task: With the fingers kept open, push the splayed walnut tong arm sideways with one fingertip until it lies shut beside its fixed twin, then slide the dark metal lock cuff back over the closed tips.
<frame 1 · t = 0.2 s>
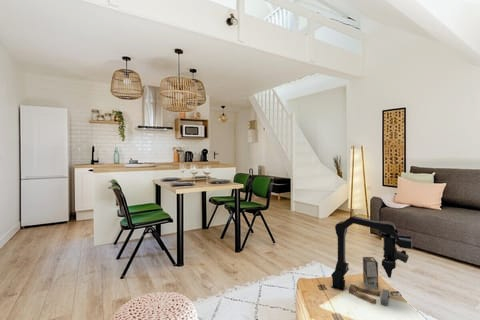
hand: (390, 274, 139), 14 cm above the table, fingers open, 9 cm apart
lock cuff: (385, 297, 139), point 2 cm above the table, slide at 0.0 cm
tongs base: (352, 291, 150), on the table
tong arm: (362, 294, 142), point 2 cm above the table, hinge at 22.0°
coffee box: (370, 286, 156), on the table
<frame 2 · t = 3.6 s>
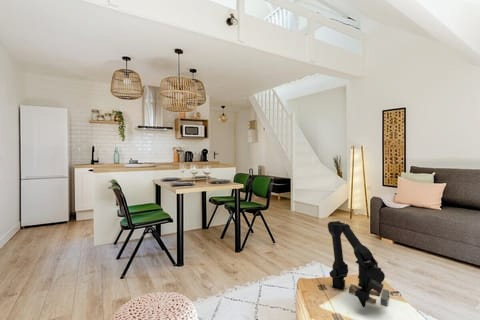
hand: (365, 303, 135), 1 cm above the table, fingers open, 8 cm apart
tong arm: (362, 294, 142), point 2 cm above the table, hinge at 21.6°, touching gripper
everything else where it was.
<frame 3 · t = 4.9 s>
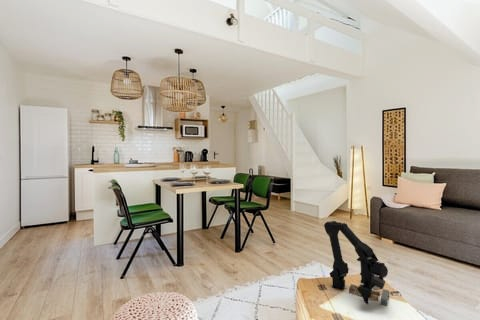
hand: (368, 300, 137), 1 cm above the table, fingers open, 8 cm apart
tong arm: (363, 292, 144), point 2 cm above the table, hinge at 3.1°, touching gripper
everything else where it was.
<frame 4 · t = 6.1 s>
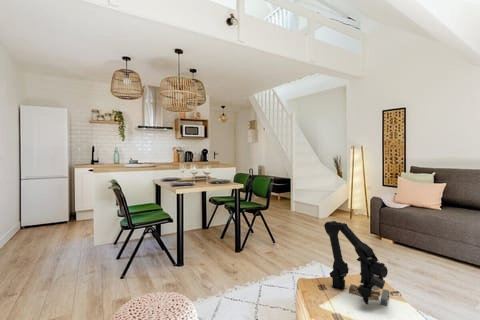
hand: (368, 300, 138), 1 cm above the table, fingers open, 8 cm apart
tong arm: (363, 292, 144), point 2 cm above the table, hinge at -1.1°, touching gripper
everything else where it was.
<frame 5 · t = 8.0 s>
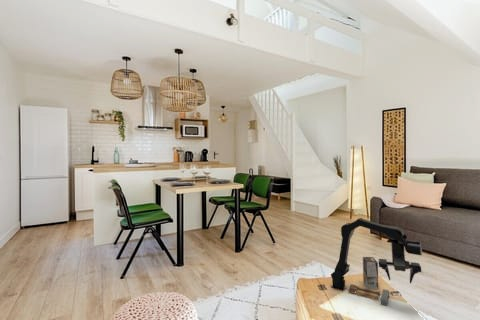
hand: (399, 281, 134), 13 cm above the table, fingers open, 9 cm apart
tong arm: (363, 292, 144), point 2 cm above the table, hinge at -1.2°
everything else where it was.
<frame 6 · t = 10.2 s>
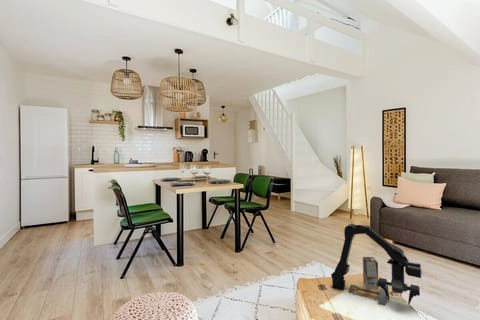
hand: (398, 302, 136), 1 cm above the table, fingers open, 9 cm apart
lock cuff: (382, 296, 140), point 2 cm above the table, slide at 1.1 cm, touching gripper
everything else where it was.
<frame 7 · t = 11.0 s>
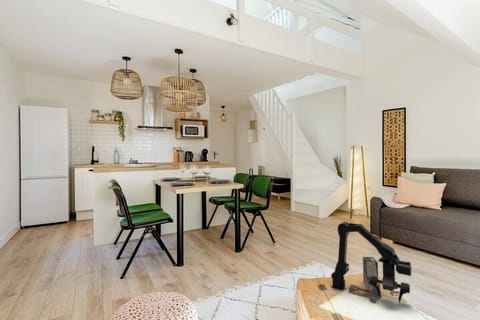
hand: (389, 299, 138), 1 cm above the table, fingers open, 8 cm apart
lock cuff: (374, 294, 142), point 2 cm above the table, slide at 5.1 cm
tong arm: (363, 292, 144), point 2 cm above the table, hinge at -1.1°, touching gripper
everything else where it was.
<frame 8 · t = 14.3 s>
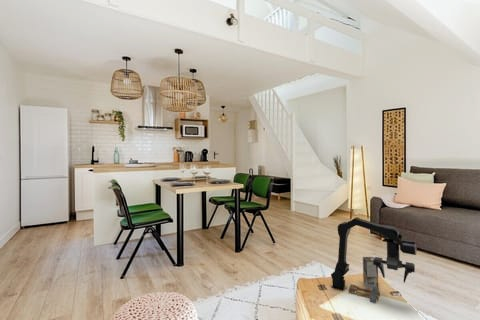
hand: (393, 280, 136), 12 cm above the table, fingers open, 9 cm apart
tong arm: (363, 292, 144), point 2 cm above the table, hinge at -1.1°
everything else where it was.
at the end: tong arm at -1° (first picture: +22°); lock cuff slide at 5.1 cm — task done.
